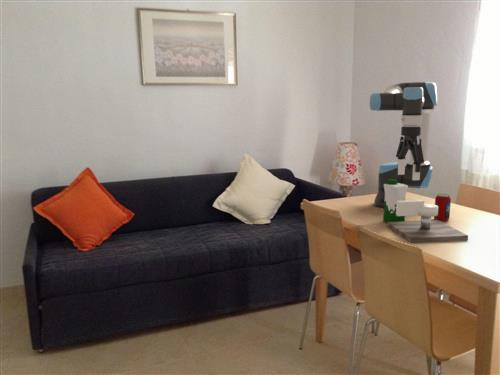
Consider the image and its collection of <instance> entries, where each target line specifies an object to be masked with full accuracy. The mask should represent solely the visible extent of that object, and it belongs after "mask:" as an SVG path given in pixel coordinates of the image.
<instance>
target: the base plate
mask: <svg viewBox="0 0 500 375" xmlns="http://www.w3.org/2000/svg"><path fill="white" fill-rule="evenodd" d="M420 226H421V220H405V221H400V222H386V227H387V228H388V229H390V230H392V231H393V232H395V233H396V234H397V235H399V236H400V237H401V238H403V239H404V240H405V241H407V242H409V243H411V244H414V243H416V244H417V243H438V242H439V243H441V242H458V241H459V242H463V241H468V240H469V235H468V234H466V233H465V232H462V231H460V230H458V229H456V228H454V227H452V226H450V225H449V224H446V223H444V221H439V220H436V219H431V227H430V229H429V230H424V229H421V228H420Z"/></svg>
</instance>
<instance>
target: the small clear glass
mask: <svg viewBox="0 0 500 375" xmlns="http://www.w3.org/2000/svg"><path fill="white" fill-rule="evenodd" d="M431 220H432V217H425V216H420V221H421V226H420V228H421V229H424V230H429V229H430V227H431Z"/></svg>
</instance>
